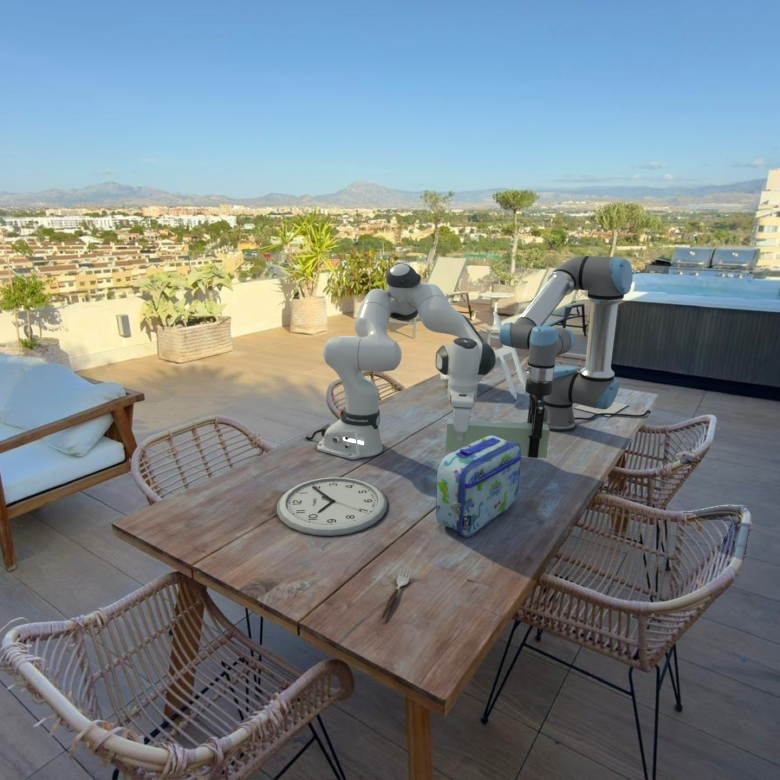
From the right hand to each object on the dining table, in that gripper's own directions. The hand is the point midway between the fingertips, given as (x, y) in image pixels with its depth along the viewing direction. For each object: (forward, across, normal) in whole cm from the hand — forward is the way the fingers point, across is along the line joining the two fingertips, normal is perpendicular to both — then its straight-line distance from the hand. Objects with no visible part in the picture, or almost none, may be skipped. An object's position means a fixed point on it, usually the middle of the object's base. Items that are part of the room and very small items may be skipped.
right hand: (531, 453), depth 159 cm
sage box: (0, 0, -11) cm, 11 cm away
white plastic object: (+8, -85, -12) cm, 86 cm away
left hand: (-4, 0, -22) cm, 22 cm away
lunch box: (+8, +27, -17) cm, 33 cm away
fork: (+8, +60, -35) cm, 70 cm away
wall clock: (+8, +26, -56) cm, 62 cm away
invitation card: (+7, -73, +40) cm, 84 cm away
